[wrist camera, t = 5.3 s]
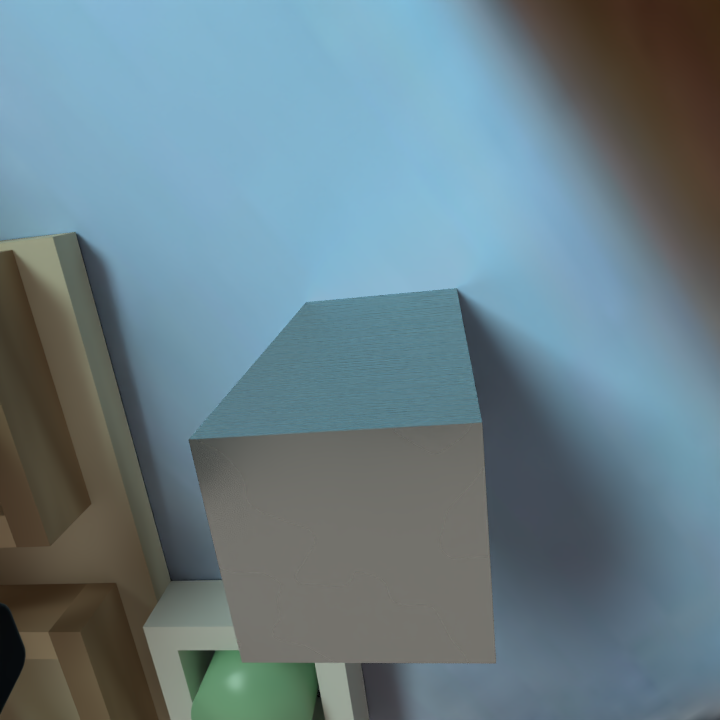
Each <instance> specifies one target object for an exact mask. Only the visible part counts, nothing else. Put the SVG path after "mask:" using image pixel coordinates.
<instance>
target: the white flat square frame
mask: <svg viewBox="0 0 720 720" xmlns="http://www.w3.org/2000/svg"><path fill="white" fill-rule="evenodd" d="M143 629H144V633H145V636H146V639H147V643H148V646H149V649H150V653H151V656H152V659H153V662H154V666H155V669H156V672H157V676H158V679H159V682H160V686H161V689H162V692H163V696H164V699H165V702H166V705H167V709H168V712H169V715H170V719H171V720H191V708H192V704H193V701H194V699H195V697H196V694H197V692H198V690H199V687H200V685H201V683H202V681H203V678H204V676H205V674H206V671H207V669H208V667H209V664H210V662H211V660H212V658H213V655H214V653H215V651H214V650H239V648H238V644H237V639H236V635H235V631H234V627H233V623H232V619H231V614H230V610H229V606H228V602H227V598H226V594H225V589H224V585H223V581H222V580H196V581H171V582H170V583H169V585H168V586H167V588H166V590H165V591H164V593H163V595H162V596H161V598H160V600H159V601H158V603H157V605H156V606H155V608H154V609H153V611H152V613H151V614H150V616H149V618H148V619H147V621H146V623H145V624H144V626H143ZM315 667H316V673H317V678H318V684H319V689H320V694H321V698H316V703H315V708H314V713H313V717H312V720H369V713H368V706H367V700H366V693H365V687H364V680H363V673H362V667H361V663H315Z"/></svg>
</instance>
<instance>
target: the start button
mask: <svg viewBox="0 0 720 720" xmlns="http://www.w3.org/2000/svg"><path fill="white" fill-rule="evenodd" d="M318 689H319V684H318V678H317V673H316V667H315V663H242V660H241V656H240V652H239V650H216V651H215V653H214V655H213V658H212V660H211V662H210V664H209V667H208V669H207V671H206V674H205V676H204V678H203V681H202V683H201V685H200V687H199V690H198V692H197V694H196V697H195V699H194V701H193V704H192V708H191V720H312V717H313V713H314V708H315V703H316V698H317V693H318Z"/></svg>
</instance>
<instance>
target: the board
mask: <svg viewBox="0 0 720 720" xmlns="http://www.w3.org/2000/svg"><path fill="white" fill-rule="evenodd" d="M170 582H171V580H170V576H169V572H168V569H167V565H166V561H165V558H164V554H163V550H162V547H161V543H160V539H159V536H158V532H157V529H156V525H155V521H154V518H153V514H152V510H151V507H150V503H149V499H148V496H147V492H146V488H145V485H144V481H143V477H142V474H141V470H140V466H139V463H138V459H137V455H136V452H135V448H134V444H133V441H132V437H131V433H130V430H129V426H128V423H127V419H126V415H125V412H124V408H123V404H122V401H121V397H120V393H119V390H118V386H117V382H116V379H115V375H114V371H113V368H112V364H111V360H110V357H109V353H108V349H107V346H106V342H105V338H104V335H103V331H102V327H101V324H100V320H99V317H98V313H97V309H96V306H95V302H94V298H93V295H92V291H91V287H90V284H89V280H88V276H87V273H86V269H85V265H84V262H83V258H82V254H81V251H80V247H79V243H78V240H77V236H76V232H72V233H63V234H55V235H46V236H38V237H29V238H21V239H12V240H3V241H0V602H1V603H4V604H5V605H7V606H8V607H9V609H10V611H11V613H12V615H13V618H14V621H15V623H16V626H17V628H18V631H19V633H20V636H21V638H22V641H23V644H24V646H25V651H26V658H25V663H24V667H23V669H22V672H21V674H20V676H19V678H18V680H17V682H16V684H15V686H14V688H13V690H12V692H11V694H10V696H9V698H8V700H7V702H6V704H5V706H4V708H3V710H2V712H1V714H0V720H171V719H170V715H169V712H168V709H167V705H166V702H165V699H164V696H163V692H162V689H161V686H160V682H159V679H158V676H157V672H156V669H155V666H154V662H153V659H152V656H151V653H150V649H149V646H148V643H147V639H146V636H145V633H144V629H143V626H144V624H145V623H146V621H147V619H148V618H149V616H150V614H151V613H152V611H153V609H154V608H155V606H156V605H157V603H158V601H159V600H160V598H161V596H162V595H163V593H164V591H165V590H166V588H167V586H168V585H169V583H170Z"/></svg>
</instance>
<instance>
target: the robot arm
mask: <svg viewBox="0 0 720 720" xmlns="http://www.w3.org/2000/svg"><path fill="white" fill-rule="evenodd" d="M25 658H26V651H25V646H24V644H23V641H22V638H21V636H20V633H19V631H18V628H17V626H16V623H15V621H14V618H13V615H12V613H11V611H10V609H9V607H8V606H7V605H5V604H4V603H1V602H0V714H1V712H2V710H3V708H4V706H5V704H6V702H7V700H8V698H9V696H10V694H11V692H12V690H13V688H14V686H15V684H16V682H17V680H18V678H19V676H20V674H21V672H22V669H23V667H24V663H25Z"/></svg>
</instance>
